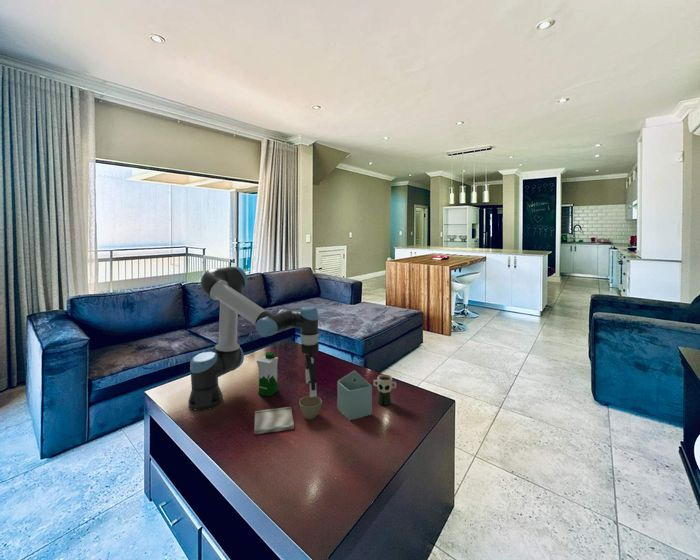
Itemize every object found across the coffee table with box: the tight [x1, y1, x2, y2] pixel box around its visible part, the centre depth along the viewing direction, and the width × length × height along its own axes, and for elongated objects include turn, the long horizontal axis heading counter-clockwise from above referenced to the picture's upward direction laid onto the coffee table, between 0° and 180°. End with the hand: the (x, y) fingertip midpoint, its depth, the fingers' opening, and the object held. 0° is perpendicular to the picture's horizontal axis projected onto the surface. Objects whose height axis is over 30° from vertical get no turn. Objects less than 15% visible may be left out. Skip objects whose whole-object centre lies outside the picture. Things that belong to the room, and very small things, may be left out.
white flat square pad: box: [253, 406, 295, 435], centre depth 144 cm, size 16×16×1 cm
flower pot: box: [298, 395, 323, 420], centre depth 147 cm, size 10×10×7 cm
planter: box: [336, 370, 373, 421], centre depth 147 cm, size 16×8×20 cm, turn 73°
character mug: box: [372, 373, 397, 406], centre depth 159 cm, size 11×7×13 cm, turn 77°
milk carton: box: [256, 351, 279, 397], centre depth 168 cm, size 9×9×20 cm
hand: (311, 389), depth 146 cm, fingers open, 13 cm apart
